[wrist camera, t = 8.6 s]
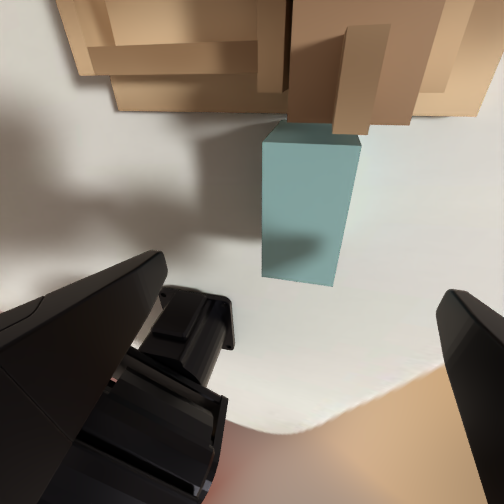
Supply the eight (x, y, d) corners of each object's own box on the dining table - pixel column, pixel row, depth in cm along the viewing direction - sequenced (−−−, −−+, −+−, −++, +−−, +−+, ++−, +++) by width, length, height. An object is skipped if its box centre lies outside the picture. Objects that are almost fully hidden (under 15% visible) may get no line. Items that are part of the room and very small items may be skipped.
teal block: (352, 121, 13) (361, 145, 9) (332, 234, 17) (332, 286, 13) (282, 119, 14) (262, 142, 10) (277, 228, 18) (261, 276, 14)
